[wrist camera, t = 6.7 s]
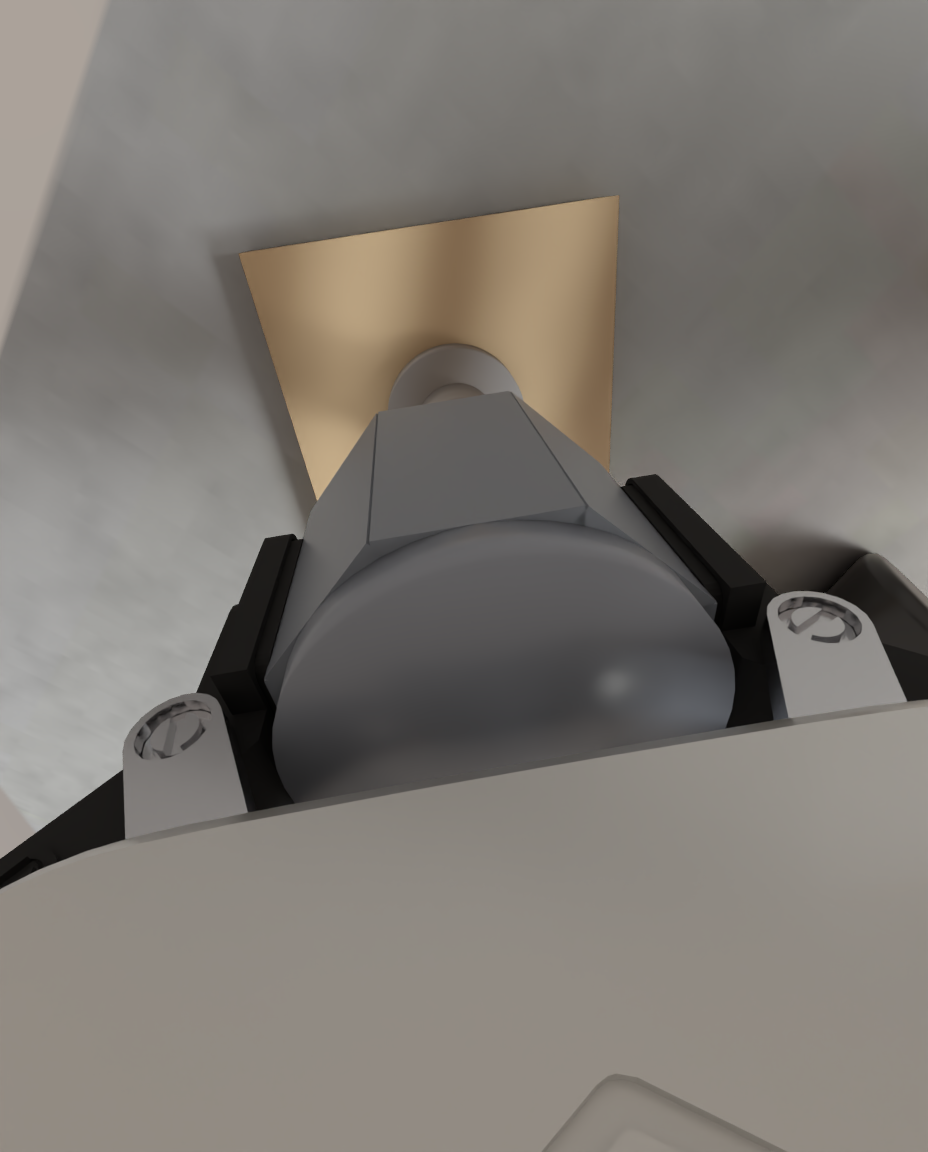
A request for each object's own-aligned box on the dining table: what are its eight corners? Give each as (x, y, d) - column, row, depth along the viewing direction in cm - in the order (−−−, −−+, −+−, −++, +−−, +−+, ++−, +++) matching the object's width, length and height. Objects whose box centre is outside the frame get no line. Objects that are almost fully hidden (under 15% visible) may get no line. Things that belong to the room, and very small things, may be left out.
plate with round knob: (607, 196, 17) (700, 188, 12) (599, 515, 24) (655, 603, 19) (248, 251, 17) (174, 268, 12) (341, 554, 24) (322, 654, 19)
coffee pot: (931, 600, 29) (788, 677, 33) (713, 396, 24) (580, 521, 28) (1035, 709, 23) (843, 786, 27) (773, 469, 18) (591, 612, 22)
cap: (603, 374, 10) (782, 509, 6) (596, 622, 14) (701, 829, 9) (281, 427, 10) (186, 610, 6) (359, 662, 14) (342, 893, 9)
